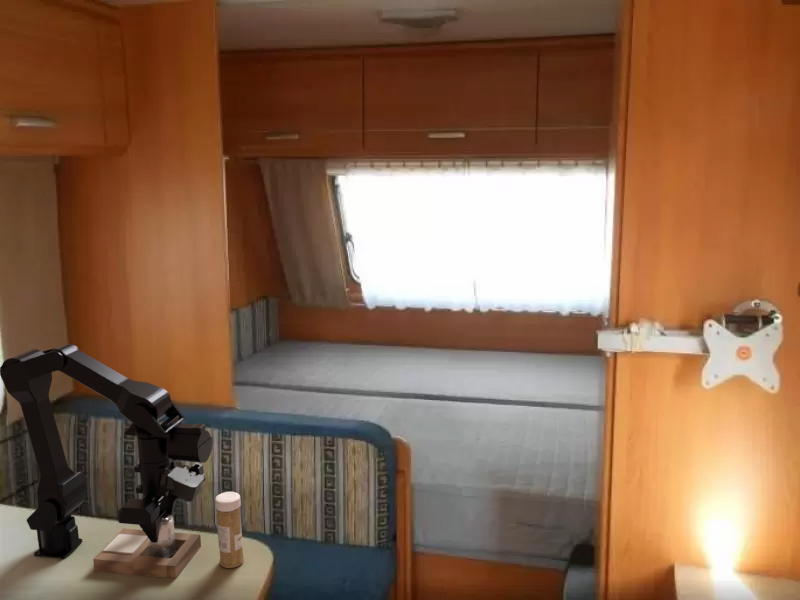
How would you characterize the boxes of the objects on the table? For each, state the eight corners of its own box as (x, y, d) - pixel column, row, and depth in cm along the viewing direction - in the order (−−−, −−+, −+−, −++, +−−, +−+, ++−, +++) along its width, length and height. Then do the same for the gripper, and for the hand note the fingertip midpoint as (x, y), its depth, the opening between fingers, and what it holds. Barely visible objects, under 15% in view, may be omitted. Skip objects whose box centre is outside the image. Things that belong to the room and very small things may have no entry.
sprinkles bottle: (247, 564, 142) (244, 498, 139) (224, 571, 140) (220, 504, 137) (238, 553, 146) (234, 488, 143) (215, 560, 144) (211, 494, 141)
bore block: (94, 571, 140) (92, 557, 140) (124, 539, 151) (123, 527, 150) (176, 578, 138) (175, 564, 137) (201, 546, 149) (200, 533, 148)
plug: (144, 557, 141) (141, 523, 140) (156, 544, 146) (153, 510, 144) (168, 560, 141) (166, 525, 139) (180, 546, 145) (177, 512, 144)
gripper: (173, 483, 129) (180, 566, 132) (216, 439, 147) (221, 513, 150) (112, 479, 131) (120, 561, 134) (161, 436, 148) (167, 509, 152)
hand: (160, 534), depth 142 cm, fingers closed on plug, 5 cm apart
